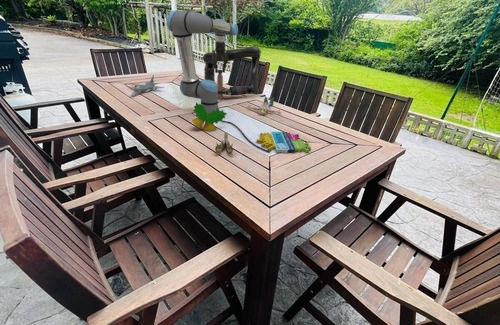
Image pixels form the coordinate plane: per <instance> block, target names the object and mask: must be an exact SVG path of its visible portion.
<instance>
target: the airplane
mask: <svg viewBox="0 0 500 325" xmlns="http://www.w3.org/2000/svg"><path fill="white" fill-rule="evenodd" d="M154 76H155V75H154V74H152V77H151V78H150V80H149V81H144V83H145V84H137V83H130V85H131V86H133V89H135V90H134V91H133V92H132V93H131V94H130V97H135V96H137V95H139V94H141V93H148V92H150V91H151V90H153V91H157V90H158V88H159V89H162V88H163V89H165V86H156V85H161V82H160V83H159V82H158V83H157V82H155V81H154V78H155V77H154Z"/></svg>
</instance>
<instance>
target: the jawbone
mask: <svg viewBox="0 0 500 325" xmlns="http://www.w3.org/2000/svg"><path fill="white" fill-rule="evenodd" d="M223 135H224V136H223V140H222V139H221V142H220V144H218V142H215V144H216V146H215V148H214V149H215V152H214V154H215V155H217V156H218V155H220V153H221V152H223V151H224V150H226V152H227V153H228V155H229V156H233V155H234V154H233V153H234V148H233V144H234V143H230V140H228V139H229V138H228V137H229V136H228V135H229V133H228V131H226V132H224V134H223Z"/></svg>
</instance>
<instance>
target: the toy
mask: <svg viewBox="0 0 500 325" xmlns="http://www.w3.org/2000/svg"><path fill="white" fill-rule="evenodd" d="M274 100H275V98H274V97H271V98H270V101H268V97H267V96H266V95H265V96H264V99H263V104H261V105H260V107H251V106H250V105H248V106H246V110H254V111H258V112H257V113H258V114H259V115H261V116H265V115H267V112H270V113H276V114H279V115H282V113H283V111H281V109H278V110H274V109H270V107H271V106H273V105H274V102H275V101H274Z"/></svg>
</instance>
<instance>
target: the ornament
mask: <svg viewBox="0 0 500 325" xmlns="http://www.w3.org/2000/svg"><path fill="white" fill-rule="evenodd" d="M219 110H220V108H219V109H217V110H216V111H214V110H212V112H211V113H208V112H206V109H204V106H201V103H198V102H195V105H194V106H193V112H194V113H195V118H192V119H191V122H192V123H193V125H195V127H197V128H198V129H202V130H203V131H206V132H212V131H213V132H214V131H215V130H216V126H215V124H218V123H219V122H222V121H223V119H226V115H227V114H228V113H227V112H224V110H223V109H221V110H220V111H219ZM207 113H208V115H207ZM214 123H215V124H214ZM222 123H223V122H222Z"/></svg>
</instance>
